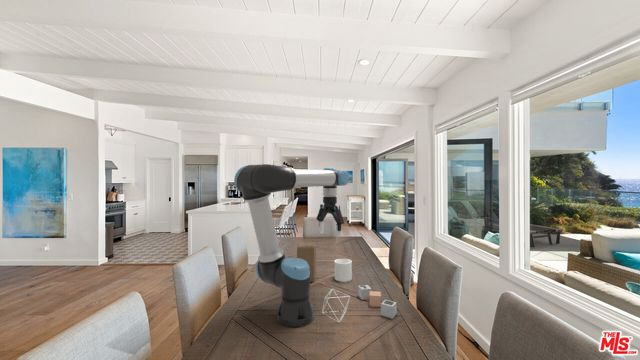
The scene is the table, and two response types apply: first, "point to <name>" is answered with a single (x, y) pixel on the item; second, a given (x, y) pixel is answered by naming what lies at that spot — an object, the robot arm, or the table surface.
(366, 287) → the marked cube
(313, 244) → the block
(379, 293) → the plain cube
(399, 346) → the table surface
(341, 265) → the mug
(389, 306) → the marked cube
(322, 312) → the geometric polyhedron
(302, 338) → the table surface
